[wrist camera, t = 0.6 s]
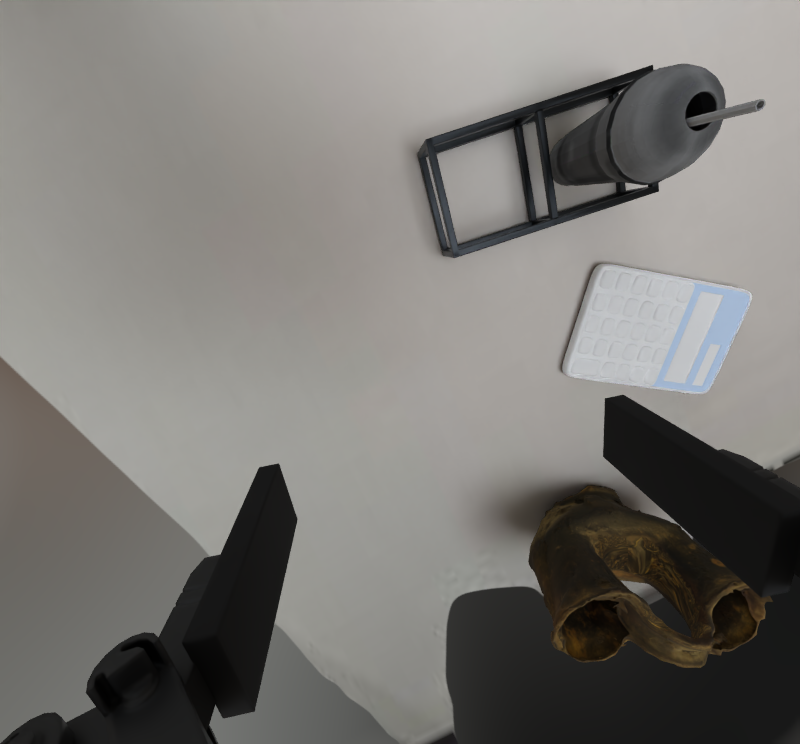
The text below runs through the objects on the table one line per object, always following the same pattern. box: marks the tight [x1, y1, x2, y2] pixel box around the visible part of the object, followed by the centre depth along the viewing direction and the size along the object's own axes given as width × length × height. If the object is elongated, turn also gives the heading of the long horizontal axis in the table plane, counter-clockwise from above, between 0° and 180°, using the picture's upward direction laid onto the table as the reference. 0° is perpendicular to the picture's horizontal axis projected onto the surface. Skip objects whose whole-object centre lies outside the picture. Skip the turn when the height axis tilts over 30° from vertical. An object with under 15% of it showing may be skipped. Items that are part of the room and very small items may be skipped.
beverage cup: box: [550, 64, 765, 186], centre depth 28 cm, size 7×7×20 cm
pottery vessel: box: [529, 485, 772, 668], centre depth 44 cm, size 25×11×20 cm, turn 85°
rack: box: [417, 65, 659, 258], centre depth 35 cm, size 10×20×5 cm, turn 107°
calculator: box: [562, 264, 752, 394], centre depth 44 cm, size 13×20×2 cm, turn 80°
